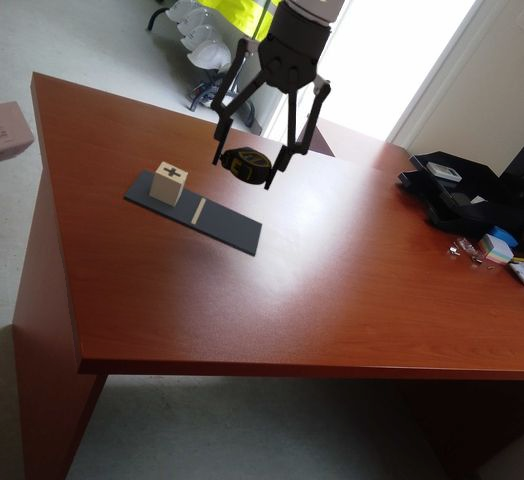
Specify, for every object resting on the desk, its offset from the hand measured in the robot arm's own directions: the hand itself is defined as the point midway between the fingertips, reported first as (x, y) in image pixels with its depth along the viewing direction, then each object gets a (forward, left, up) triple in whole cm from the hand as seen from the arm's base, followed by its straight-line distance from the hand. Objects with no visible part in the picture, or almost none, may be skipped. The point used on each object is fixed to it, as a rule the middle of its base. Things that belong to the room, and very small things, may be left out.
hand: (241, 173), depth 72 cm
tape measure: (0, 0, 0) cm, 0 cm away
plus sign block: (-11, +11, -15) cm, 22 cm away
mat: (-5, +11, -16) cm, 20 cm away
